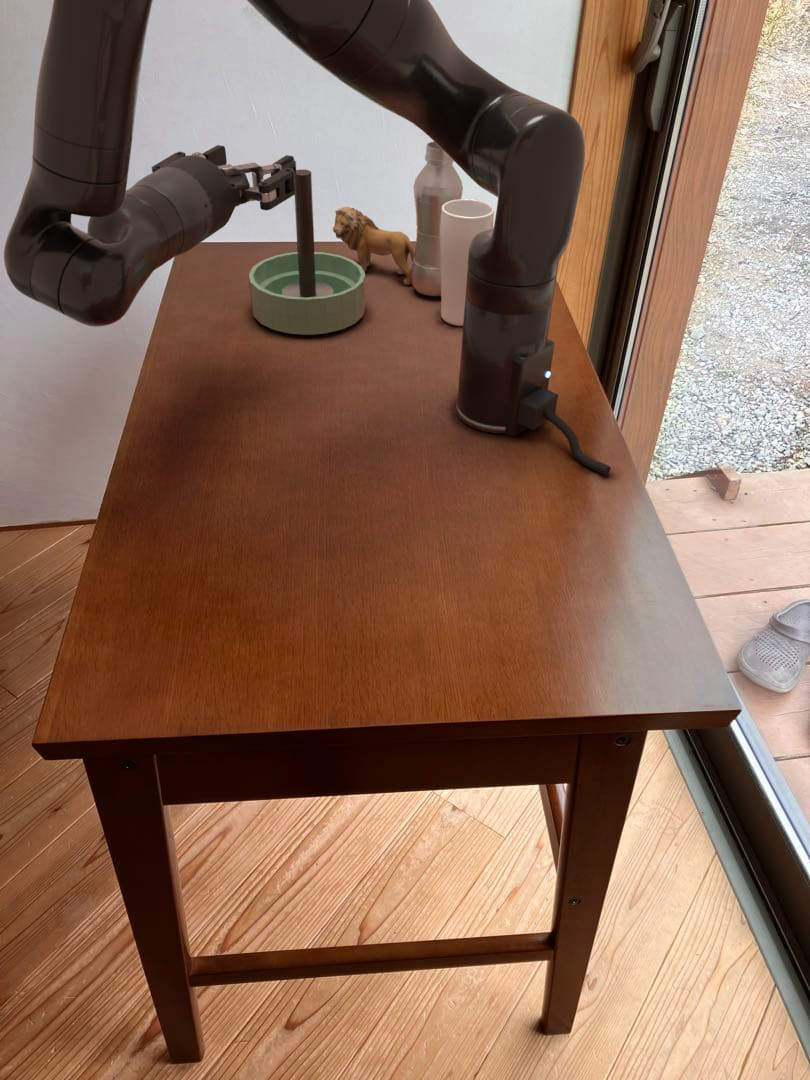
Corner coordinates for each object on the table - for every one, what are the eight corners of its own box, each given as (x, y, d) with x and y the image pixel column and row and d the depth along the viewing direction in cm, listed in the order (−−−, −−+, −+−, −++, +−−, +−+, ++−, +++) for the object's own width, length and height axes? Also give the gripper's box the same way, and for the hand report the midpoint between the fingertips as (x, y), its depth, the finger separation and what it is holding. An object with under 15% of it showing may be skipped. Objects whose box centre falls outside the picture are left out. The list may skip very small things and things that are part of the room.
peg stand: (345, 308, 121) (342, 172, 109) (308, 325, 117) (301, 185, 105) (309, 293, 124) (303, 159, 112) (271, 309, 120) (261, 171, 108)
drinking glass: (426, 322, 119) (431, 211, 110) (448, 303, 124) (455, 195, 114) (472, 334, 117) (481, 221, 107) (492, 314, 122) (503, 204, 112)
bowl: (387, 312, 121) (388, 273, 118) (307, 350, 113) (306, 310, 109) (309, 279, 129) (308, 242, 125) (229, 313, 120) (225, 274, 116)
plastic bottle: (453, 304, 124) (463, 155, 111) (405, 298, 125) (410, 150, 112) (460, 285, 129) (470, 140, 116) (414, 280, 130) (420, 136, 117)
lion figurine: (328, 272, 131) (326, 211, 125) (342, 259, 135) (341, 199, 129) (422, 289, 127) (424, 227, 122) (433, 275, 131) (436, 214, 126)
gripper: (237, 178, 82) (313, 131, 94) (108, 158, 86) (196, 115, 97) (245, 256, 87) (316, 203, 99) (122, 234, 91) (205, 185, 102)
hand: (256, 159), depth 98 cm, fingers open, 8 cm apart
